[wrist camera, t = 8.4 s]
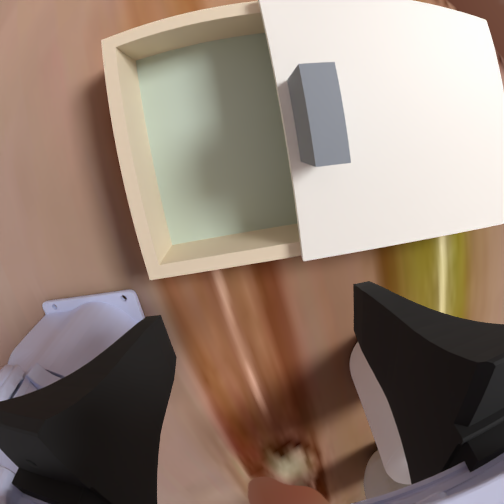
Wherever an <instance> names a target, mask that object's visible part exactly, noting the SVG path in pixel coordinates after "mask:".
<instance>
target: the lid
mask: <svg viewBox="0 0 504 504" xmlns="http://www.w3.org/2000/svg"><path fill="white" fill-rule="evenodd" d="M258 3H259V7H260V12H261V16H262V21H263V25H264V30H265V34H266V39H267V44H268V49H269V54H270V59H271V64H272V69H273V74H274V79H275V84H276V90H277V95H278V100H279V106H280V112H281V117H282V123H283V129H284V135H285V141H286V147H287V154H288V160H289V167H290V173H291V180H292V187H293V194H294V201H295V208H296V216H297V223H298V231H299V239H300V247H301V256H302V259H303V261H308V260H314V259H320V258H325V257H331V256H337V255H342V254H348V253H354V252H359V251H365V250H370V249H376V248H381V247H387V246H392V245H397V244H403V243H408V242H413V241H419V240H424V239H429V238H434V237H440V236H445V235H450V234H455V233H460V232H465V231H470V230H475V229H480V228H485V227H490V226H495V225H500V224H504V91H503V85H502V80H501V75H500V70H499V65H498V61H497V57H496V52H495V49H494V45H493V41H492V37H491V34H490V31H489V27H488V24H487V21H486V20H485V19H482V18H479V17H476V16H472V15H469V14H466V13H463V12H459V11H456V10H452V9H448V8H445V7H441V6H436V5H432V4H428V3H423V2H418V1H413V0H258Z"/></svg>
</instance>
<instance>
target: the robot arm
mask: <svg viewBox="0 0 504 504" xmlns="http://www.w3.org/2000/svg"><path fill="white" fill-rule="evenodd" d="M353 285H354V332H355V334H356V337H357V340H358V343H359V345H360V348H361V351H362V353H363V354H364V356H365V358H366V360H367V362H368V364H369V366H370V368H371V369H372V371H373V373H374V375H375V377H376V379H377V381H378V383H379V384H380V386H381V388H382V390H383V392H384V394H385V396H386V398H387V401H388V403H389V406H390V409H391V411H392V414H393V417H394V420H395V423H396V426H397V429H398V432H399V436H400V439H401V442H402V446H403V449H404V453H405V457H406V461H407V465H408V470H409V474H410V479H411V484H412V485H409V486H407V487H404V488H401V489H398V490H395V491H392V492H389V493H386V494H383V495H380V496H377V497H373V498H370V499H366V500H363V501H359V502H355V503H351V504H504V325H503V324H492V323H484V322H477V321H472V320H467V319H462V318H458V317H454V316H451V315H448V314H444V313H441V312H438V311H435V310H432V309H429V308H427V307H424V306H422V305H420V304H417V303H415V302H412V301H410V300H408V299H406V298H404V297H402V296H399V295H397V294H395V293H393V292H391V291H389V290H387V289H385V288H383V287H381V286H379V285H377V284H374V283H372V282H369V281H368V282H363V283H358V284H353ZM122 295H124V296H126V298H127V299H124V298H123V297H122ZM54 304H55V305H56V306H57V307H56V306H55V305H54ZM42 306H43V309H44V311H45V314H46V315H45V316H44V317H43V318H42V319H41V320H40V321H39V322H38V323H37V324H36V325H35V326H34V327H33V329H32V330H31V331H30V332H29V333H28V334H27V335H26V336H25V337H24V339H23V340H22V341H21V342H20V343H19V344H18V345H17V346H16V348H15V349H14V350H13V352H12V353H11V355H10V358H9V361H8V365H5V366H4V367H3V368H2V369H1V370H0V504H157V467H158V452H159V443H160V434H161V429H162V424H163V420H164V416H165V412H166V408H167V404H168V401H169V397H170V393H171V389H172V385H173V381H174V375H175V366H176V355H175V352H174V350H173V347H172V345H171V342H170V339H169V337H168V334H167V331H166V328H165V326H164V323H163V320H162V317H161V315H158V316H150V317H145V316H144V313H143V311H142V308H141V305H140V302H139V300H138V297H137V294H136V292H135V291H133V290H130V289H128V290H121V291H114V292H107V293H100V294H93V295H86V296H79V297H71V298H64V299H56V300H49V301H45V302H44V303H43V305H42Z"/></svg>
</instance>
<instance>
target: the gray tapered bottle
mask: <svg viewBox="0 0 504 504" xmlns="http://www.w3.org/2000/svg"><path fill="white" fill-rule="evenodd" d="M409 485H412V484H401V483H398V482H396V481H394V480H393V479H391V478H390V476H389V475H388V474H387V473H386V471H385V468H384V465H383V462H382V460H381V457H380V454H379V451H378V450H377V451H376V452H374V454H373V455H372V456H371V458H370V459H369V461H368V463H367V466H366V470H365V475H364V491H365V495H366V499H370V498H373V497H377V496H380V495H383V494H386V493H389V492H392V491H395V490H398V489H401V488H404V487H407V486H409Z"/></svg>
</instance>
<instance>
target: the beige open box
mask: <svg viewBox="0 0 504 504" xmlns="http://www.w3.org/2000/svg"><path fill="white" fill-rule="evenodd" d="M101 43H102V54H103V64H104V73H105V81H106V88H107V96H108V103H109V109H110V115H111V121H112V127H113V133H114V138H115V144H116V149H117V154H118V159H119V164H120V169H121V173H122V178H123V182H124V187H125V191H126V195H127V199H128V203H129V207H130V211H131V215H132V219H133V223H134V227H135V231H136V234H137V238H138V241H139V245H140V249H141V252H142V255H143V259H144V262H145V266H146V269H147V272H148V275H149V279H150V280H154V279H161V278H167V277H174V276H180V275H186V274H193V273H199V272H205V271H211V270H217V269H224V268H230V267H236V266H242V265H248V264H254V263H260V262H266V261H272V260H278V259H284V258H290V257H296V256H301V247H300V239H299V231H298V223H297V216H296V208H295V201H294V194H293V187H292V180H291V173H290V167H289V160H288V154H287V147H286V141H285V135H284V129H283V123H282V117H281V112H280V106H279V100H278V95H277V90H276V84H275V79H274V74H273V69H272V64H271V59H270V54H269V49H268V44H267V39H266V34H265V30H264V25H263V21H262V16H261V12H260V7H259V3H258V1H253V2H245V3H237V4H231V5H224V6H219V7H213V8H208V9H203V10H198V11H194V12H189V13H185V14H181V15H177V16H173V17H169V18H165V19H162V20H158V21H155V22H152V23H148V24H145V25H142V26H139V27H136V28H133V29H130V30H127V31H124V32H122V33H119V34H116V35H114V36H111V37H108V38H106V39H103V40H101Z"/></svg>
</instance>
